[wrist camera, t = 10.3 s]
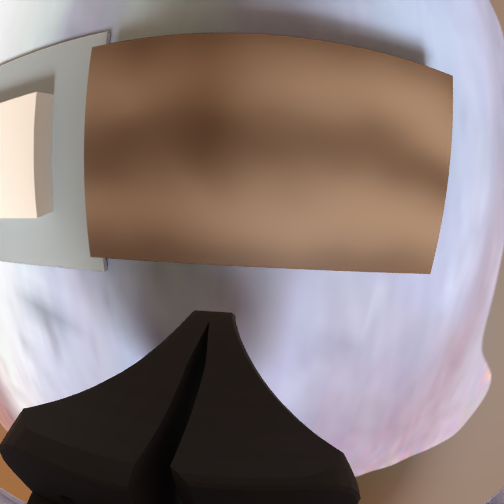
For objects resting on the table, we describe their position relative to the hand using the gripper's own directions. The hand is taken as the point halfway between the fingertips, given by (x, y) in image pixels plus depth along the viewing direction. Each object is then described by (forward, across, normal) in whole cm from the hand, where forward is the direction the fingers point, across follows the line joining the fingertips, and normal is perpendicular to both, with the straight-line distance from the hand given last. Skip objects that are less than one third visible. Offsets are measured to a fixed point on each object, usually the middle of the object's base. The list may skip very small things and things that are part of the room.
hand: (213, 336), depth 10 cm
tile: (+7, +15, -6) cm, 18 cm away
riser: (+9, -2, -6) cm, 11 cm away
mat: (+9, +14, -6) cm, 18 cm away
